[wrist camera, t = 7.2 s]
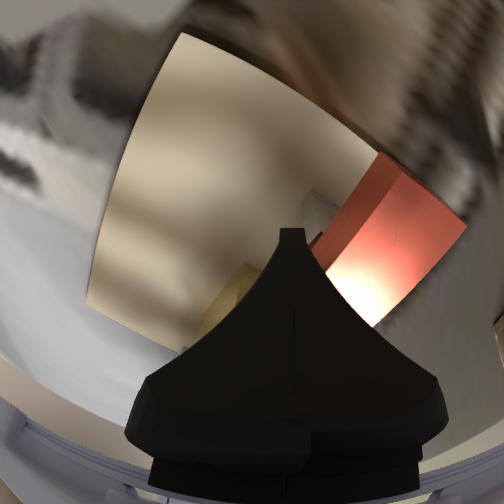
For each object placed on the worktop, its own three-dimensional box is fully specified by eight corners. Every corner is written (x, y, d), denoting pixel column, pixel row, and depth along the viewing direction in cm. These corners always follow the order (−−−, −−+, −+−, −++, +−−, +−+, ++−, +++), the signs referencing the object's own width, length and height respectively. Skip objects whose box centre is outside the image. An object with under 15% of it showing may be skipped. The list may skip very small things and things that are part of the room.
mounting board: (259, 380, 26) (258, 385, 26) (88, 299, 22) (85, 303, 22) (449, 223, 14) (453, 228, 14) (185, 33, 10) (181, 32, 10)
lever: (268, 385, 18) (266, 414, 16) (206, 365, 17) (199, 395, 15) (448, 203, 9) (475, 234, 7) (364, 139, 8) (385, 159, 6)
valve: (235, 371, 25) (228, 412, 22) (176, 346, 24) (162, 387, 20) (385, 240, 15) (408, 292, 12) (305, 181, 14) (312, 225, 10)
